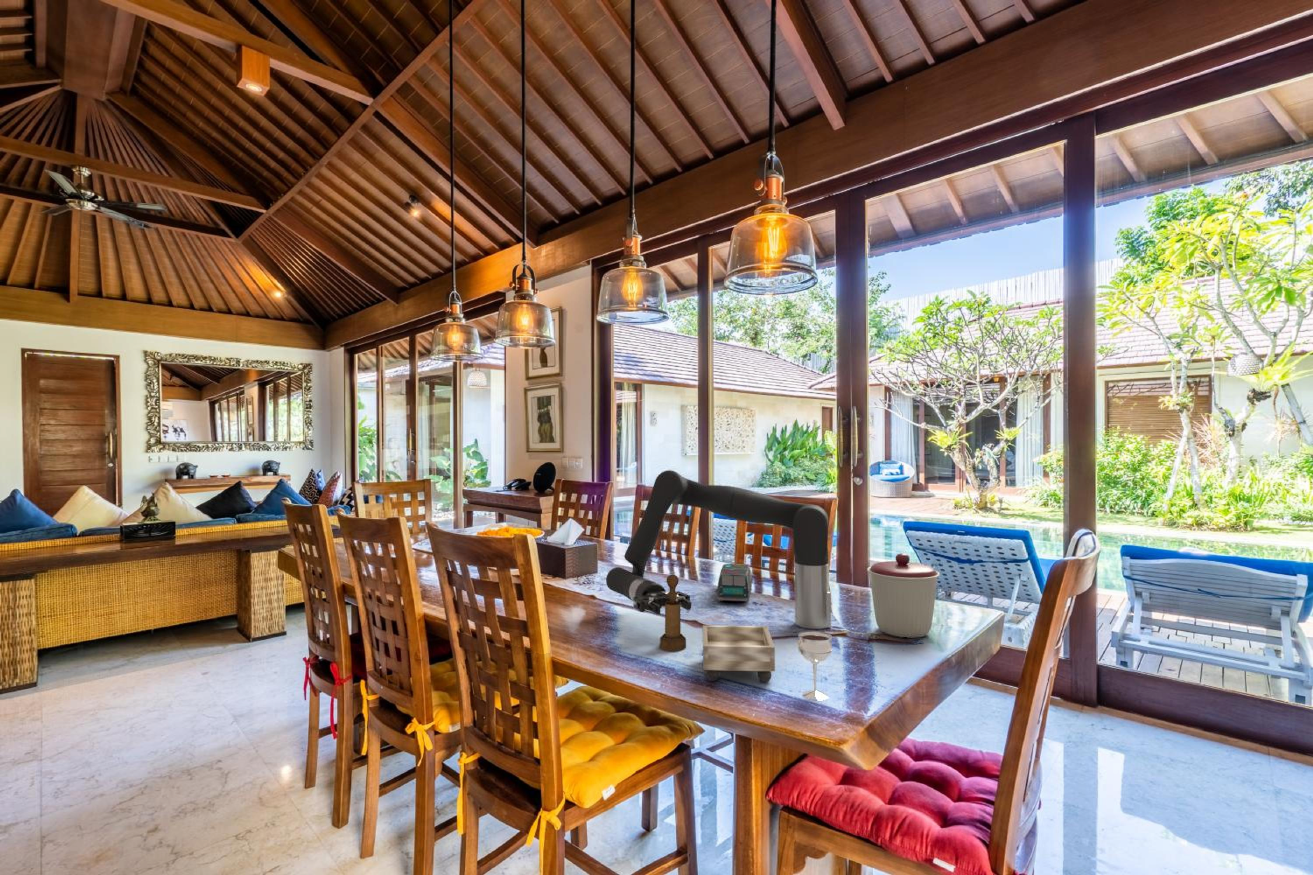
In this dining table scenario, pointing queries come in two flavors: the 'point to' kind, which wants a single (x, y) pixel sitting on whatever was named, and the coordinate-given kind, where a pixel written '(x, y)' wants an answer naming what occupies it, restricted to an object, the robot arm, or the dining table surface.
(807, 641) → the wineglass
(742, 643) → the cart
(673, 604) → the mortar and pestle
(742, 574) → the toy van
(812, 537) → the robot arm
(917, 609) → the canister
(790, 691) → the dining table surface
